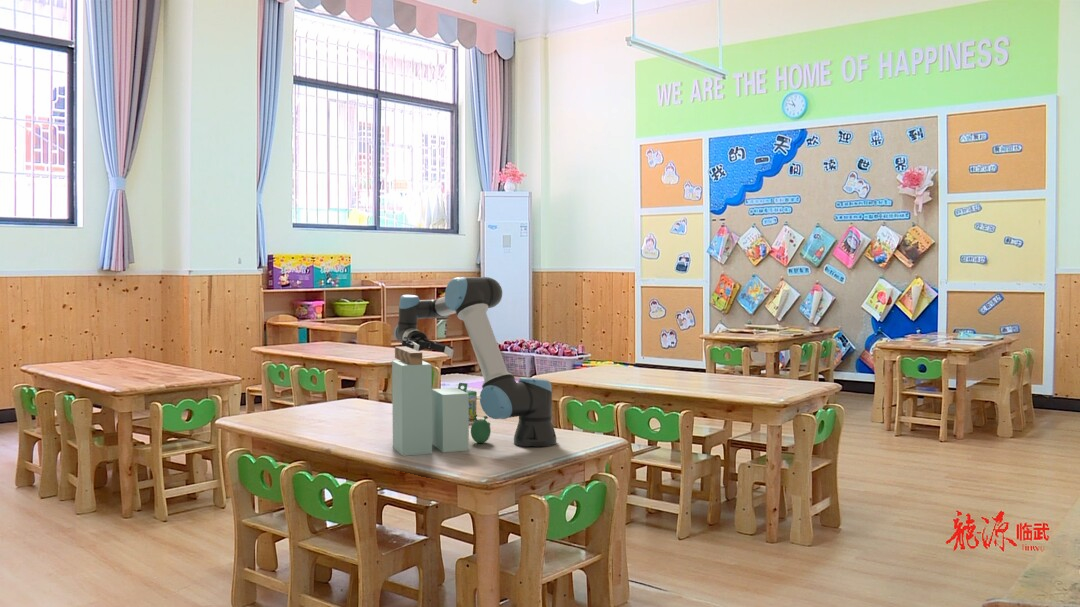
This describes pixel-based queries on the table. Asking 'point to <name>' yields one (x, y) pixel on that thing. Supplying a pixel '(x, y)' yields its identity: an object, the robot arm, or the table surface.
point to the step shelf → (427, 412)
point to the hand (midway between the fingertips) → (435, 351)
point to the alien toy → (480, 430)
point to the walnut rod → (408, 355)
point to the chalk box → (470, 400)
